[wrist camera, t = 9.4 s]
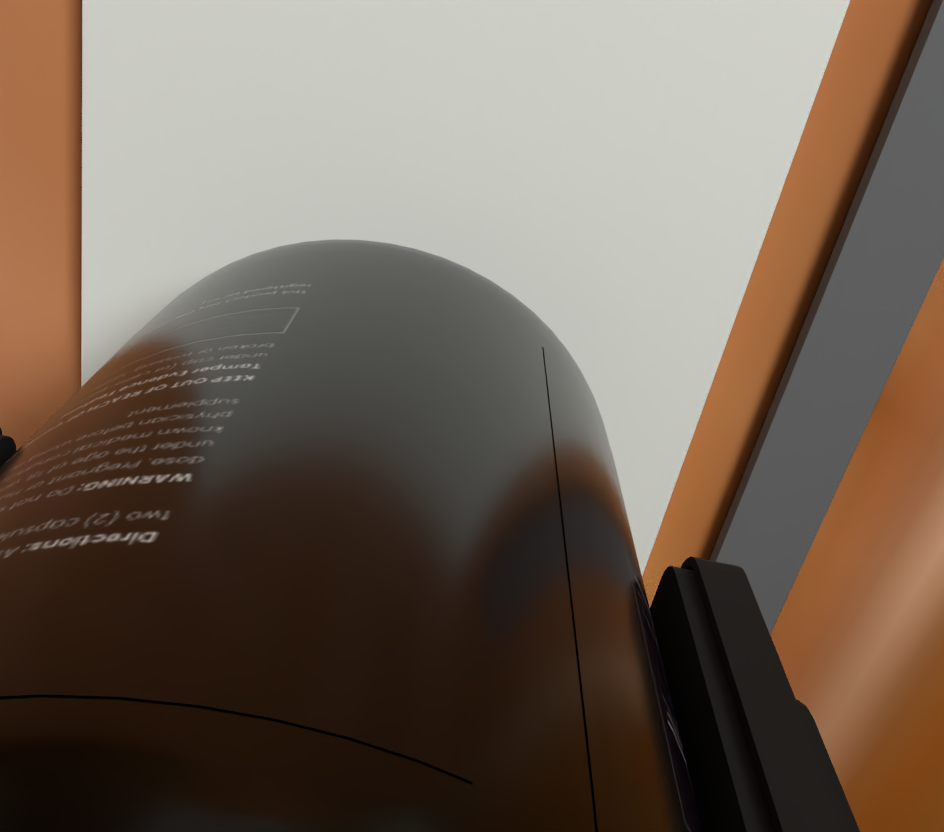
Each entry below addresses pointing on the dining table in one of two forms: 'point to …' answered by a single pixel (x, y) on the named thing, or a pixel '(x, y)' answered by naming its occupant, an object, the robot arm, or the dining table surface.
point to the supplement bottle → (331, 573)
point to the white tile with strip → (531, 198)
